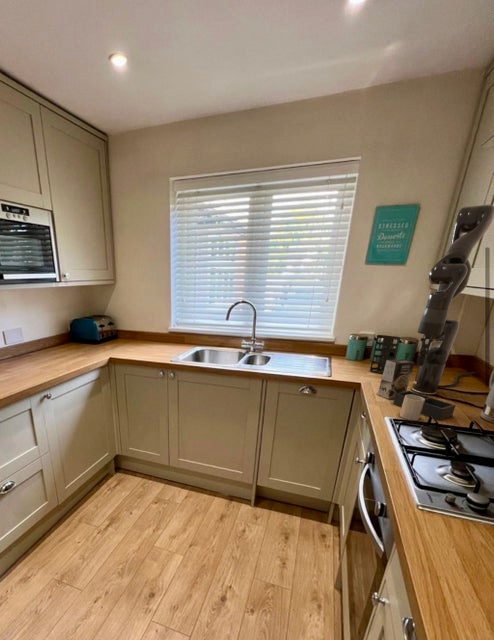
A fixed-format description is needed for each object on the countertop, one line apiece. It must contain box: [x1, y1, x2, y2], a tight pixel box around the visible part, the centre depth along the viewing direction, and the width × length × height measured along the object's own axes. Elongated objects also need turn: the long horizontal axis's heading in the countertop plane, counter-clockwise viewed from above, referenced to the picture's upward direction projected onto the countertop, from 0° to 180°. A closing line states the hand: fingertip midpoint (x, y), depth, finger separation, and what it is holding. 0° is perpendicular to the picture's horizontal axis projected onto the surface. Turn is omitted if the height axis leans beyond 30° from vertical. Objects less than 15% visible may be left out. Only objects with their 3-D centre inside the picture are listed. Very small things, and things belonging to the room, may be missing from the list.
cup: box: [399, 395, 425, 421], centre depth 124 cm, size 6×6×8 cm
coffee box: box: [377, 358, 416, 400], centre depth 144 cm, size 9×6×16 cm
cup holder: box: [392, 390, 456, 421], centre depth 132 cm, size 9×18×5 cm, turn 28°
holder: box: [369, 334, 401, 374], centre depth 179 cm, size 11×8×20 cm
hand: (419, 363), depth 128 cm, fingers open, 8 cm apart
